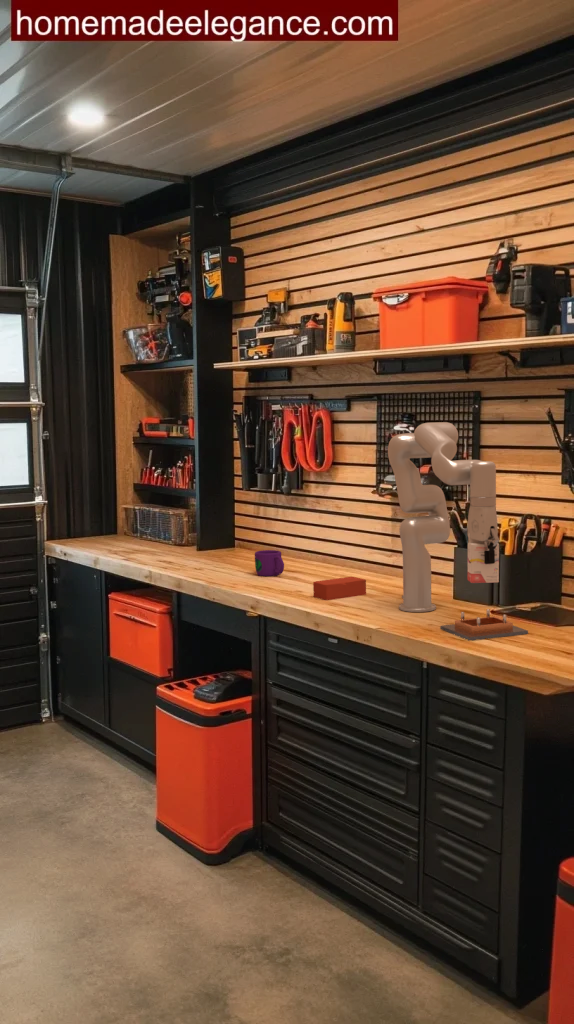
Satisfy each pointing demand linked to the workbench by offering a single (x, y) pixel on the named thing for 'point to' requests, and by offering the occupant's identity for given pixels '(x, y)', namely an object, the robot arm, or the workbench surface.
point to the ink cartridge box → (481, 563)
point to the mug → (268, 563)
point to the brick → (339, 588)
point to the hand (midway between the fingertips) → (483, 561)
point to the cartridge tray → (483, 627)
